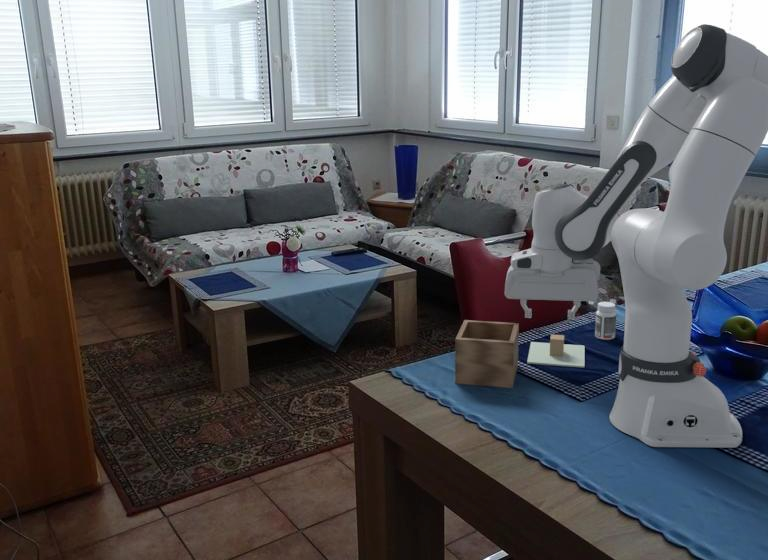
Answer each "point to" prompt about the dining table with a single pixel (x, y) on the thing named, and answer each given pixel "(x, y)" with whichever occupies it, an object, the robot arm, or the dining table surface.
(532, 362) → the lid
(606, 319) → the pill bottle
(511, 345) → the box
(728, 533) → the dining table surface
